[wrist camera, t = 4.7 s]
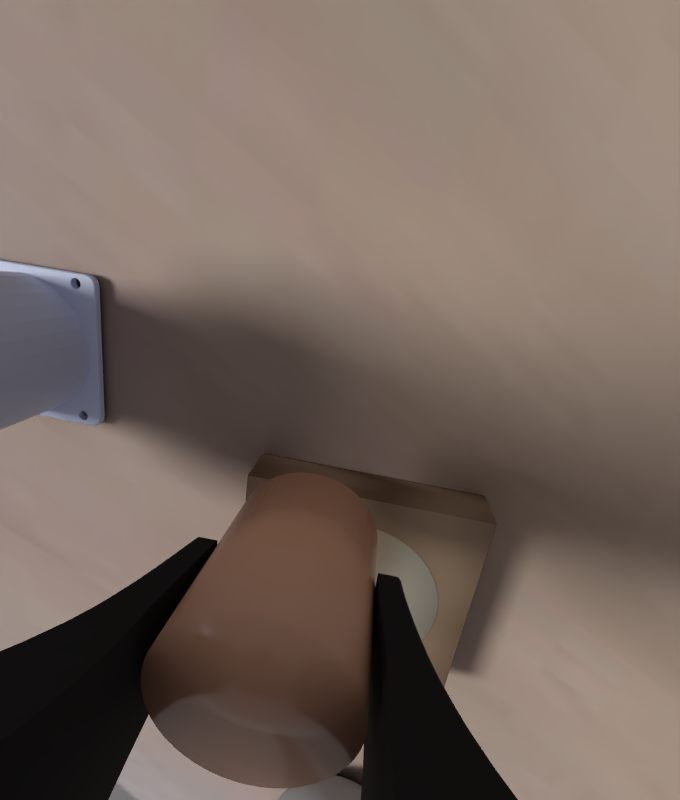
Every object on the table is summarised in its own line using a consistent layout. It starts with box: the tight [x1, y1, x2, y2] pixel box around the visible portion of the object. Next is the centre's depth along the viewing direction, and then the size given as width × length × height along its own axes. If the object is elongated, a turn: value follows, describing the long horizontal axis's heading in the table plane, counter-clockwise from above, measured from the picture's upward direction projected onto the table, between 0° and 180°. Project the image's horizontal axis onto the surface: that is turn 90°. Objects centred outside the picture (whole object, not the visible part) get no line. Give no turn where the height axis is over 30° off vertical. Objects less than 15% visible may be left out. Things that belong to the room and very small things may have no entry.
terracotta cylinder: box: [141, 472, 378, 788], centre depth 11 cm, size 5×5×6 cm
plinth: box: [246, 454, 496, 686], centre depth 22 cm, size 12×12×2 cm
